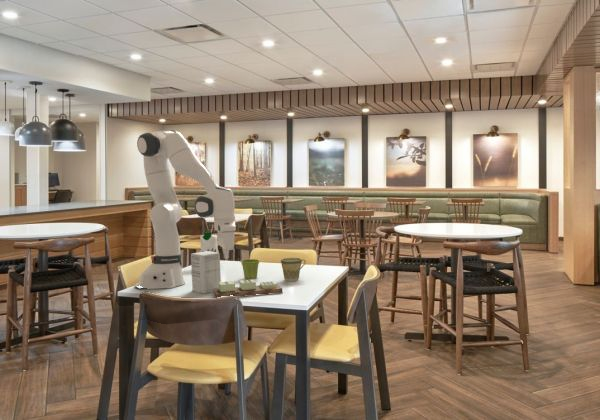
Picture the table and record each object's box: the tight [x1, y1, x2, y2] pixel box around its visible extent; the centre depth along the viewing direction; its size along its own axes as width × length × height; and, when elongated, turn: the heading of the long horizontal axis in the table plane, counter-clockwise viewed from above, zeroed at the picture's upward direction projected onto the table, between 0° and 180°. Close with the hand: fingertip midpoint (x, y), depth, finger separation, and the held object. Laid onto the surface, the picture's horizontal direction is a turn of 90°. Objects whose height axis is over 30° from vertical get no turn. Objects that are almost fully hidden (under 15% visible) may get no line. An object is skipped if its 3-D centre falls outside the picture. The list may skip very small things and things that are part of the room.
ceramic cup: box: [280, 257, 306, 282], centre depth 241 cm, size 13×10×10 cm
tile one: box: [218, 280, 236, 292], centre depth 211 cm, size 6×6×3 cm
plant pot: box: [240, 258, 261, 280], centre depth 247 cm, size 9×9×9 cm
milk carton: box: [199, 231, 219, 253], centre depth 281 cm, size 9×9×20 cm
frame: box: [212, 284, 283, 298], centre depth 214 cm, size 28×10×2 cm, turn 107°
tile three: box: [259, 280, 278, 289], centre depth 217 cm, size 6×6×3 cm
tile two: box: [238, 278, 257, 290], centre depth 214 cm, size 6×6×3 cm
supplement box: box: [190, 251, 222, 294], centre depth 221 cm, size 10×9×17 cm
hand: (226, 258), depth 210 cm, fingers closed
